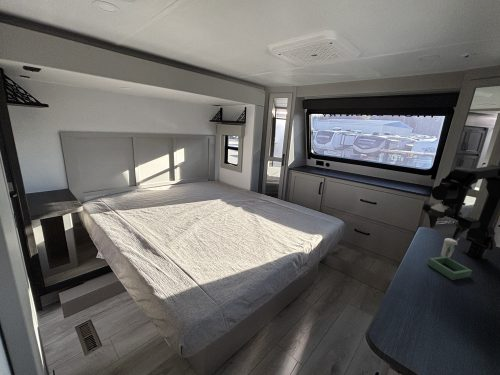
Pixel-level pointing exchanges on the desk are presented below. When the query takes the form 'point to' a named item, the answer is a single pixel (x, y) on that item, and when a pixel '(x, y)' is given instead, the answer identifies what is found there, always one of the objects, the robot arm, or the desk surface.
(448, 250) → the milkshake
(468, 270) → the green square frame
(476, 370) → the desk surface
